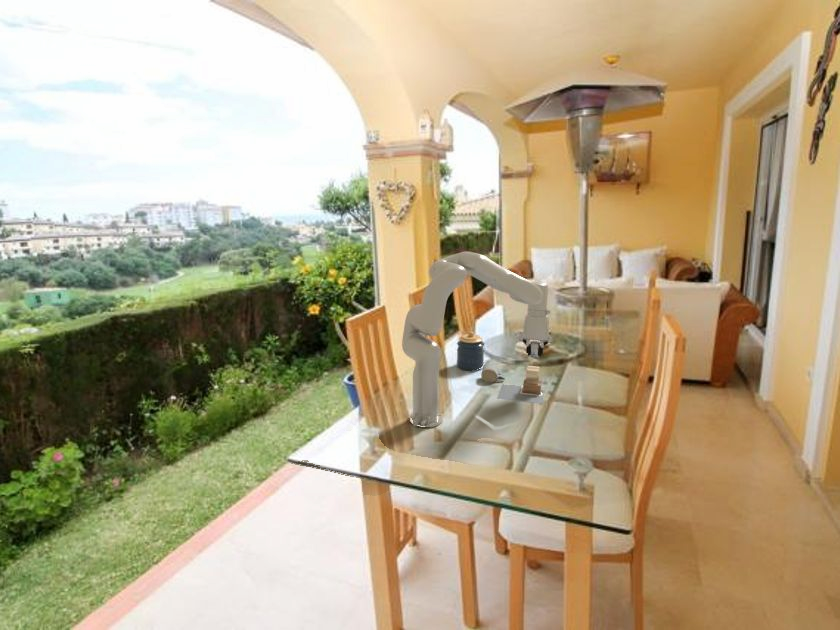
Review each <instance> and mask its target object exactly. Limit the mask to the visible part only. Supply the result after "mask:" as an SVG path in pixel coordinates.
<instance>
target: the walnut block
mask: <svg viewBox="0 0 840 630" xmlns="http://www.w3.org/2000/svg"><path fill="white" fill-rule="evenodd" d="M542 380H543V379H541V378H539V382H538V385H536V384H528V383H526V377H524V380H523V383H522V384H523V393H529V394H537V395H540V391H541V386H542Z"/></svg>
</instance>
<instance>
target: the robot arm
mask: <svg viewBox="0 0 840 630" xmlns="http://www.w3.org/2000/svg"><path fill="white" fill-rule="evenodd" d="M428 274H429V278H430V280H431V281H430V282H429V283H428V284H427V286H426V287H425V289H424V292H423V295H422V299H421V304H415V305H413V306H411V307H410V308H409V310H408V311H407V313H406V316H405V320H404V326H403V334H402V339H401V341H402V342H401V347H402V351H403V353H404V354H405V356H407V357H409V358H410V359H412V360H413V361H414V363H415V365H414V368H413V371H412V413H410V414H409V416H410V418H412V420H413V425H412V426H414V427H417V425H420V426H425V427H430V428H434V427H437V426H440V425H441V424H442V423H443V420H444V419H443V415H442V414H441V413H440V412H439V410H440V409H439V406H440V405H439V404H440V402H439V400H440V399H439V397H440V396H439V395H440V394H439V391H440V389H439V387H440V386H439V385H440V382H439V381H440V379H439V376H440V367H441V366H440V365H441V361H442V354H443V353H442V350H441V347H440V345H439V344H438V343H437V342H436V341H434V340H432V339H431V338H429V337H435V336H438V335H439V334H440V332H441V331H442V328H443V324H444V318H445V312H446V307H447V306H446V305H447V301H448V298H449V297H450V295H451V294H452V293H453V292H454V291H455V290H456V289H458V288H459V287H461V286H462V285H463V284H464V283H465V282H466V279H467V277H468V276H471V277H473V278H475V279H477V280H479V281H480V282H482V283H484V284H485V285H486V286H489V287H490V288H492V289H494V290H495V291H499V292H501V293H505V294H508V295H509V297H510V299H511V300H513V301H515V302H518V303H522V304H525V305H527V313H526V314H525V316H524V321H523V329H522V331H521V332H520V334H519V335H518V337H517V339H518V340H520V341H521V342H522V343H523V344H524V345H525V346H526V350H525V353H526V354H527V356H528V357H530V356H529V355H530V341H539V342H540V348H539V357H538V358H541V357H542V356H543V355H544V347H546V346H547V345H548V344H550V343H552V342H553V341H554V338H553V337H552V335H551V334H550V319H549V315H551V310H548V298H549V297H548V295H549V285H548V283H547V282H544V281H529V280H528V279H526V278H524V277H522V276H520V275H518V274H516V273H514V272H512V271H510V270H508V269H506V268H505V267H503V266H501V265H500V264H498V263H497V262H495V261H494V260H491V259H490V258H489V257H487V256H485V255H483V254H481V253H478V252H472V251H462V252H459V253H454V254H452V255H449V256H446V257H443V258H440V259H437V260H436V261H434V262H433V263H432V264H431V265H430V267H429V270H428ZM427 336H429V337H427Z"/></svg>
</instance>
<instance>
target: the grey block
mask: <svg viewBox="0 0 840 630" xmlns="http://www.w3.org/2000/svg"><path fill="white" fill-rule="evenodd" d="M540 345H541V344H540V340H530V355H529V356H528V357H530V358H534V359H536V358H540V357H539V348H540Z"/></svg>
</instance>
